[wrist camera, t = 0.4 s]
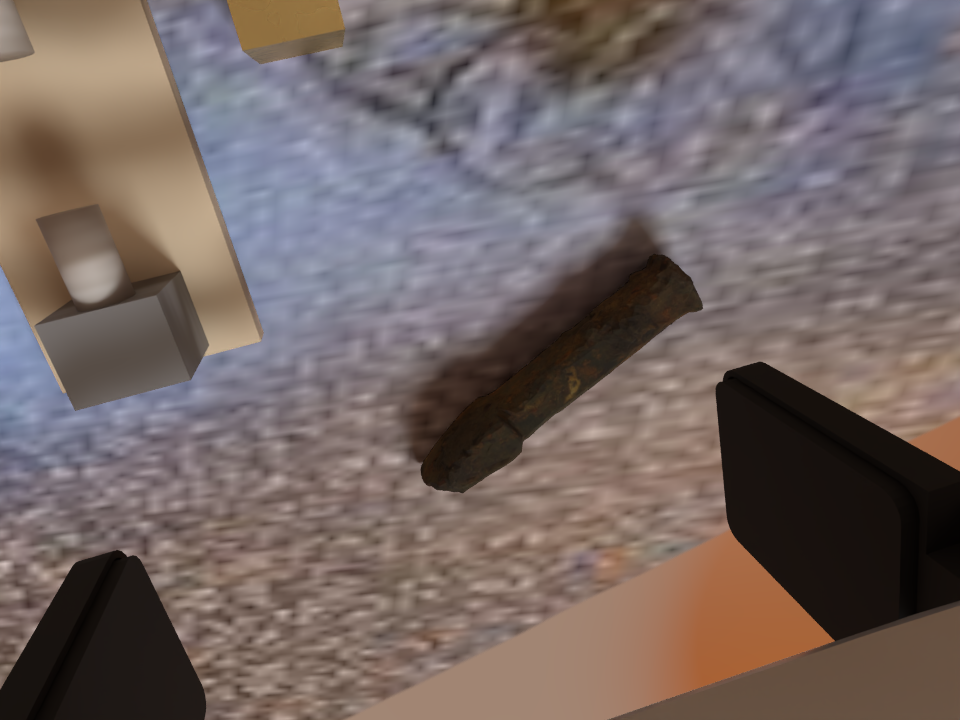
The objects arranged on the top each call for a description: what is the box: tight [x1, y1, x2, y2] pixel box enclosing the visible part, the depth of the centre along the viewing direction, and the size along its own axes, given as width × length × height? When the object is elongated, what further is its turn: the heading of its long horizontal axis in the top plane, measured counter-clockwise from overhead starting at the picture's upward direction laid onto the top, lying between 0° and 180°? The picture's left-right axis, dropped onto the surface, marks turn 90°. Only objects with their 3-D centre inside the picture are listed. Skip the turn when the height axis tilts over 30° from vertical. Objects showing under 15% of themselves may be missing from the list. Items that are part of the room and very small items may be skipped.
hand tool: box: [421, 254, 703, 493], centre depth 39 cm, size 19×4×5 cm, turn 125°
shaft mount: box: [0, 0, 264, 411], centre depth 29 cm, size 23×10×6 cm, turn 12°
